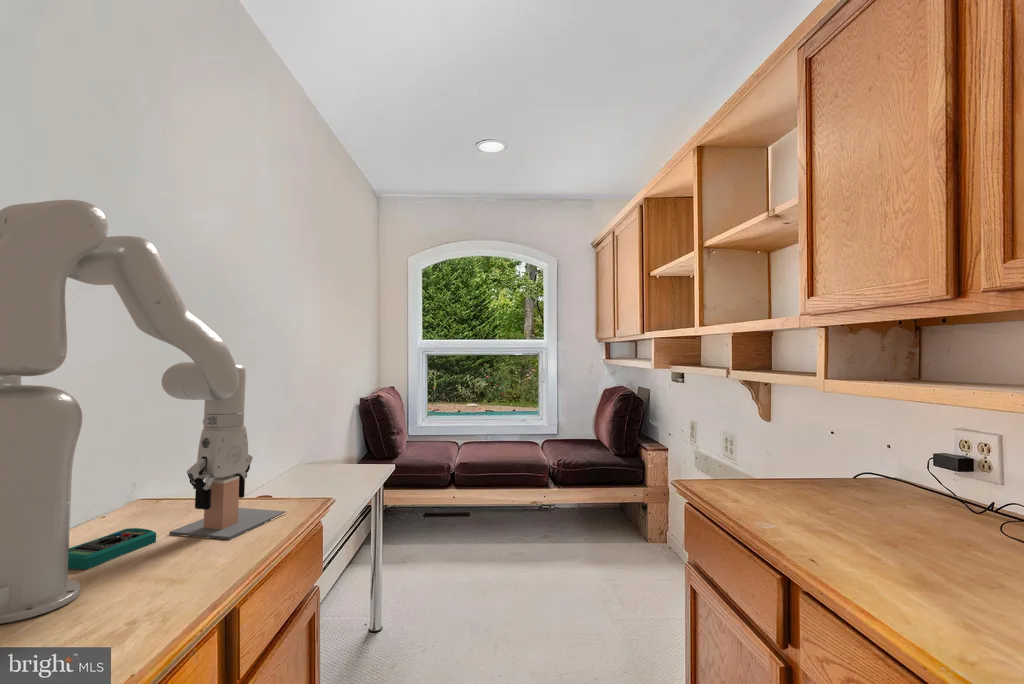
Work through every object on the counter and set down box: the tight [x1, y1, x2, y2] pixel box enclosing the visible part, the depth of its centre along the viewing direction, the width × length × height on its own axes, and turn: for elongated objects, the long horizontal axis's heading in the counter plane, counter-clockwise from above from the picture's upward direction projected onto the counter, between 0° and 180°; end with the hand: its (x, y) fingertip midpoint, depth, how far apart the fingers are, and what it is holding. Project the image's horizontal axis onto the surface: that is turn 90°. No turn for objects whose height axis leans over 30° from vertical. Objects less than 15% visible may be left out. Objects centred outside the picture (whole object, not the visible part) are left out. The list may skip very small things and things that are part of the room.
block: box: [203, 475, 240, 529], centre depth 110 cm, size 4×4×10 cm
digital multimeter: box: [68, 527, 157, 570], centre depth 95 cm, size 7×15×3 cm, turn 170°
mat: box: [169, 507, 287, 541], centre depth 113 cm, size 18×14×1 cm
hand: (220, 502), depth 110 cm, fingers open, 9 cm apart
